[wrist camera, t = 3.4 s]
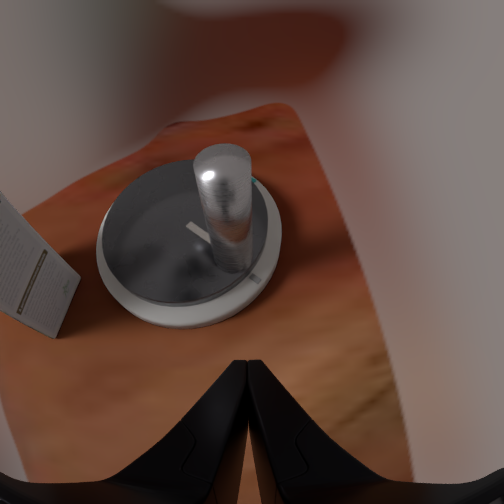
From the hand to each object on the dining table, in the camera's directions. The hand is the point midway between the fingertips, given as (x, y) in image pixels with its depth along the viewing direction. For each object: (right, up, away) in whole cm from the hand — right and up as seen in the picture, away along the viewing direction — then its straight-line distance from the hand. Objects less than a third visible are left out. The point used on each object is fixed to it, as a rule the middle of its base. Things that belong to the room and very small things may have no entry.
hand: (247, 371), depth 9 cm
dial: (-5, +5, +13) cm, 15 cm away
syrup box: (-17, 0, +12) cm, 20 cm away
